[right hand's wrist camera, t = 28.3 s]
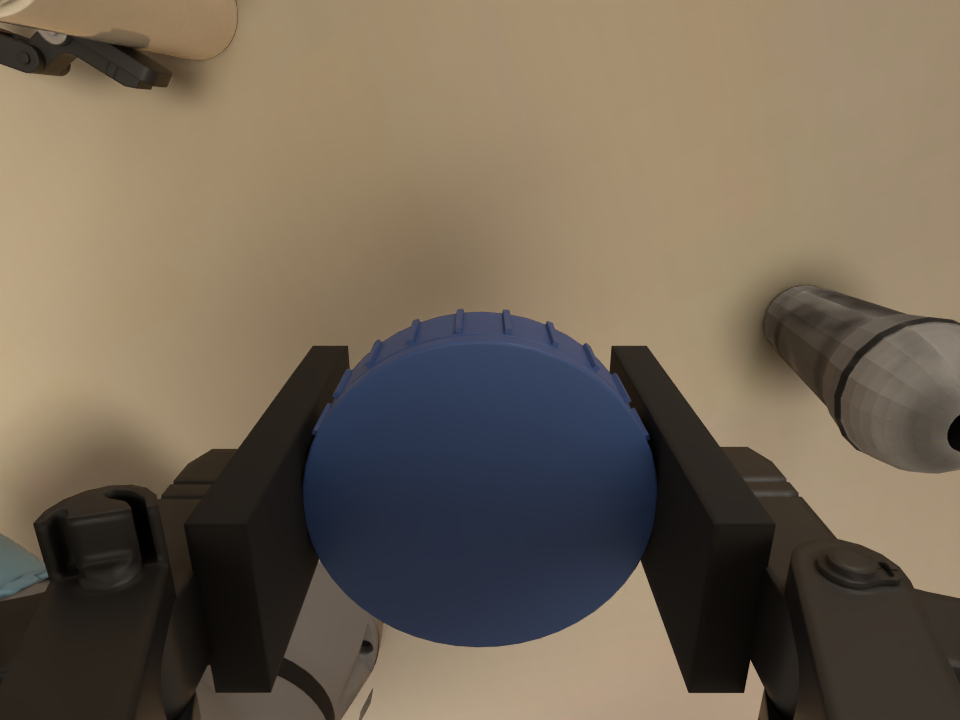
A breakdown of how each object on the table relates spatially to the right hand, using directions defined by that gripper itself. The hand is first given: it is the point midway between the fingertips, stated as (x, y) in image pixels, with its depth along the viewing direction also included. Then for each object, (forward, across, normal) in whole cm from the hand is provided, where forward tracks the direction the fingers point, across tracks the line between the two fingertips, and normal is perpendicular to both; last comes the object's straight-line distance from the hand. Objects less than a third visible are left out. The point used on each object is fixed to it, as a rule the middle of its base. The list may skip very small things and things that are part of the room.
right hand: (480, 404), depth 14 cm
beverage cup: (+26, -20, +6) cm, 34 cm away
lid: (-4, 0, 0) cm, 4 cm away
